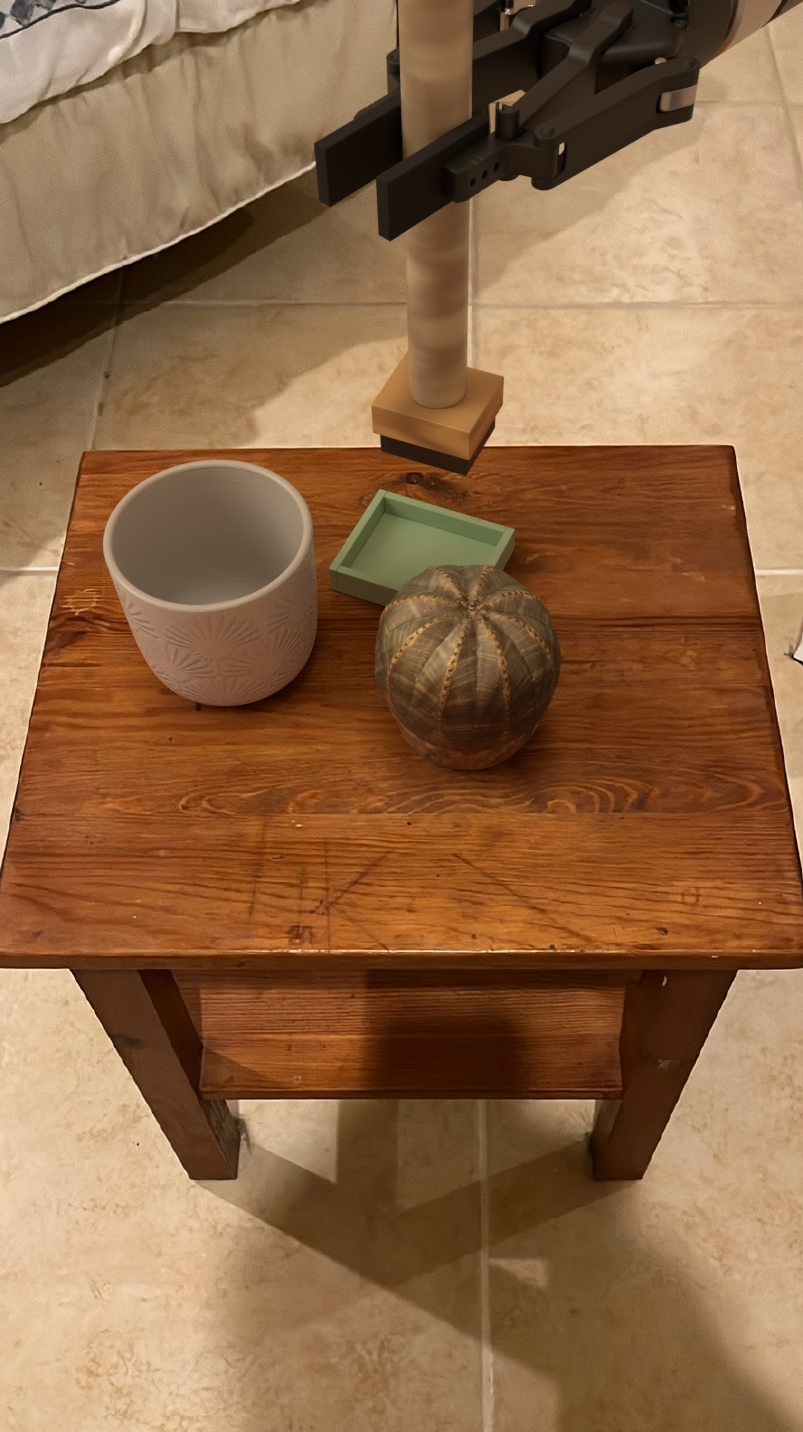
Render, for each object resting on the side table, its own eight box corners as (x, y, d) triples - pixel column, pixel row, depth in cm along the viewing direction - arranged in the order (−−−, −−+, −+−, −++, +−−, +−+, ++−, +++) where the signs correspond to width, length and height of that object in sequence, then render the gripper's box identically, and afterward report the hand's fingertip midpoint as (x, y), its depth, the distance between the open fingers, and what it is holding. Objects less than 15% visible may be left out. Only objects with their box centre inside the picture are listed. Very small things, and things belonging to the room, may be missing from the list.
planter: (336, 586, 88) (323, 461, 78) (315, 732, 81) (298, 615, 72) (158, 579, 89) (124, 454, 79) (123, 722, 82) (82, 605, 73)
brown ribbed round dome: (360, 784, 79) (347, 657, 69) (402, 650, 85) (396, 514, 74) (533, 816, 78) (547, 691, 67) (565, 677, 83) (582, 542, 73)
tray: (514, 550, 89) (515, 528, 87) (468, 633, 85) (468, 613, 84) (380, 509, 91) (379, 488, 90) (330, 589, 88) (328, 568, 86)
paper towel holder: (502, 426, 75) (532, -203, 49) (469, 481, 73) (482, -147, 47) (408, 400, 77) (390, -225, 51) (373, 453, 74) (335, -171, 48)
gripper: (791, 123, 66) (483, 343, 58) (551, 15, 72) (242, 200, 64) (829, -40, 60) (488, 182, 52) (562, -144, 66) (219, 40, 58)
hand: (353, 192), depth 58 cm, fingers closed on paper towel holder, 3 cm apart
